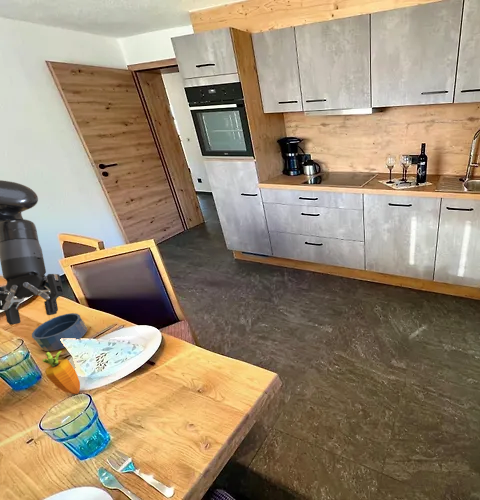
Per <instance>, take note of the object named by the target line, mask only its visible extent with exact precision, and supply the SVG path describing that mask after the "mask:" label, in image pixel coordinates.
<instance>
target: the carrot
mask: <svg viewBox="0 0 480 500" xmlns="http://www.w3.org/2000/svg"><path fill="white" fill-rule="evenodd" d="M62 352H63V351H62V350H58V352H57V353H56V354H55V357H53V355H52V354H51V352H50V351H46V353H45V356H46V357H47V358H43V359H42V363H45V364H48V366H47V367H46V368H45V369H44V372H45V375H46V377H47V379H49V380H50V382H51V383H52V384H53V385H54V386H55V387H56V388H58V389H59V390H61V391H63V392H64V393H68V394H70V395H71V394H72V395H78V394H79V393H80V391H81V382H80V379H79V376H78V373H77V371H76V369H75V368H74V366H73V364H72V363H71V361H70V360H69V359H59V357H60V355H61V353H62Z"/></svg>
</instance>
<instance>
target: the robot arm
mask: <svg viewBox="0 0 480 500" xmlns="http://www.w3.org/2000/svg"><path fill="white" fill-rule="evenodd" d="M38 202H39V197H38V194H37V193H36V192H35V191H34V190H33V189H31V188H30V187H28V186H26V185H24V184H22V183H18V182H15V181H8V180H1V179H0V267H1V273H2V278H4V280H5V281H6V285H3V286H0V311H4V313H5V318H6V322H7V323H8V324H9V326H13V325H18V324H20V323H21V317H20V316H21V315H20V311H19V309H18V308H19V306H20V304H21V303H23V302H24V300H25V299H28V298H31V297H34V296H39V297H40V298H42V299H43V300H45V301H43V303H44V308H45V314H46V316H53V315H56V314H57V313H58V311H59V307H58V302H57V299H58V298H60V297H62V296H64V295H65V290H64V285H63V282H62V278H61V275H60V274H59V273H48V274H47V275H46V273H47V270H46V263H45V259H44V255H43V249H42V246H41V243H40V240H39V235H38V230H37V227H36V224H35V223H34V222H33V221H32V220H29V219H26V218H23V214H22V213H23V212H25V211H27V210H30V209H32V208H34V207H35V206H37V204H38ZM47 284H48V286H46V285H47Z"/></svg>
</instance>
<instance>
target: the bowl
mask: <svg viewBox="0 0 480 500" xmlns="http://www.w3.org/2000/svg"><path fill="white" fill-rule="evenodd" d="M87 331H88V326H87V324H86V322H85V321H84V320H83V317H82V316H81V315H80V314H78V313H76V312H75V313H74V312H72V313H64V314H61V315H57V316H55V317H52V318H51V319H49V320H47V321H44V322H42V324H40V325H38V326H37V327H36V328H35V329H34V330H33V331H32V333H31V338H32V339H33V341H34V342H35V343H36V344H37V346H38V347H39V348H40V349H41V351H44V352H53V351H59V350H61V349H65V348H66V347H64V346H63V344H62V343H61V341H60V339H61V338H76V339H79V340H81V338H83V337H84V335H85V334H86V333H87Z"/></svg>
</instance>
